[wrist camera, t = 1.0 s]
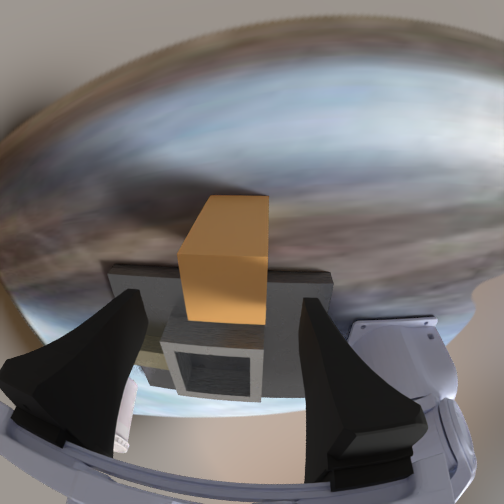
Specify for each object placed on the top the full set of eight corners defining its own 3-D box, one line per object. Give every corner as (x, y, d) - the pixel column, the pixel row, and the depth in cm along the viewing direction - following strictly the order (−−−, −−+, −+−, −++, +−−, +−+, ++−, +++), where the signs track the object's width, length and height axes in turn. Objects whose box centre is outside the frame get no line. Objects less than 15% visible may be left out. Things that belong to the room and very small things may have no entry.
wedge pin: (268, 196, 19) (268, 256, 12) (267, 247, 21) (265, 324, 14) (210, 195, 19) (177, 254, 12) (213, 246, 21) (188, 320, 14)
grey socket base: (330, 272, 22) (341, 310, 18) (305, 387, 30) (307, 420, 26) (114, 264, 23) (90, 295, 19) (153, 375, 31) (143, 405, 27)
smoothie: (98, 377, 33) (64, 458, 21) (112, 361, 30) (72, 456, 18) (136, 399, 35) (110, 481, 23) (155, 387, 32) (126, 482, 20)
